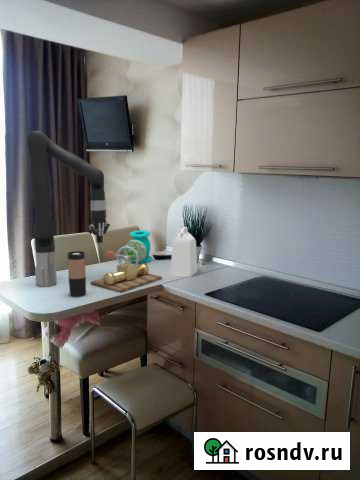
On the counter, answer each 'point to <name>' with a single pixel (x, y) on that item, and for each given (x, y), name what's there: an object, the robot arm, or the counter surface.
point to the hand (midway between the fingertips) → (99, 242)
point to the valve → (137, 248)
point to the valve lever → (116, 255)
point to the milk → (184, 254)
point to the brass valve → (125, 273)
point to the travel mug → (77, 273)
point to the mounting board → (128, 283)
